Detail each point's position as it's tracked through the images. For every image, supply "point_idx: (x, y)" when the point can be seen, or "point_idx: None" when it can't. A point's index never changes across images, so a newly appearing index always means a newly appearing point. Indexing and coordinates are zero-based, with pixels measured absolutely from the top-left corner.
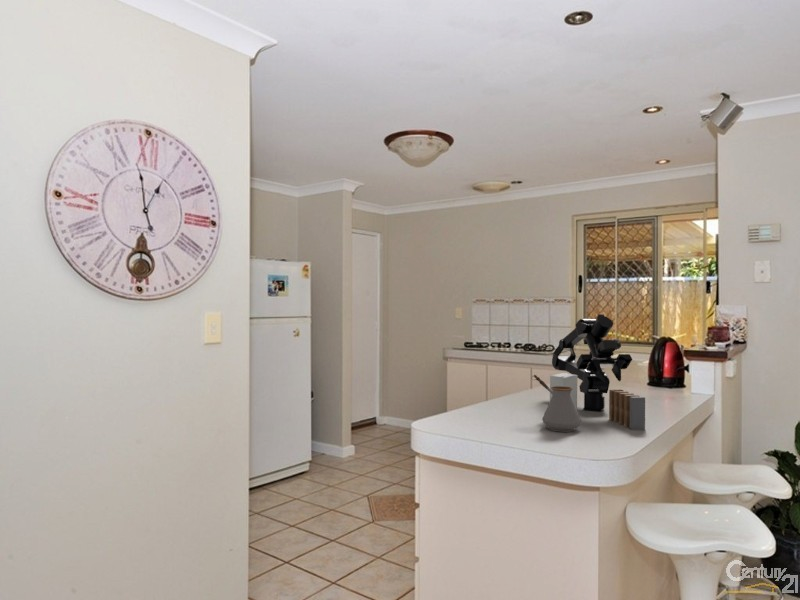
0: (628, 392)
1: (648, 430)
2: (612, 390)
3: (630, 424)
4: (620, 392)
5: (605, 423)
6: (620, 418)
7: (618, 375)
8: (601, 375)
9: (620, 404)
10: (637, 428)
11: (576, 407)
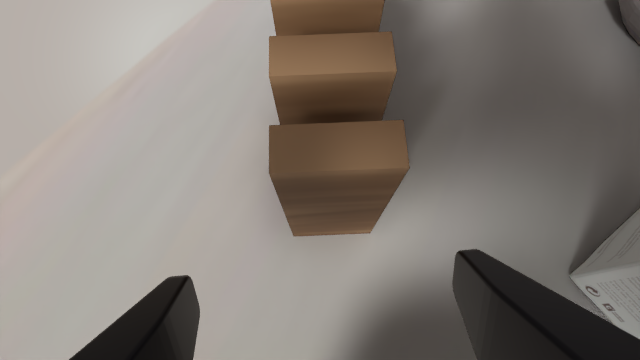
0: (272, 38)
1: None
2: (393, 120)
3: None
4: (351, 35)
5: (431, 127)
6: None
7: (157, 343)
8: (557, 311)
9: None
10: None
11: (620, 261)
